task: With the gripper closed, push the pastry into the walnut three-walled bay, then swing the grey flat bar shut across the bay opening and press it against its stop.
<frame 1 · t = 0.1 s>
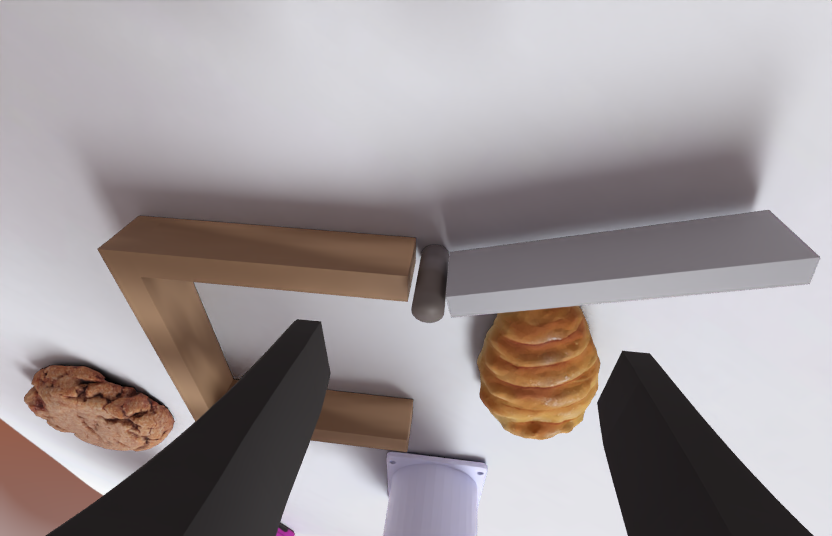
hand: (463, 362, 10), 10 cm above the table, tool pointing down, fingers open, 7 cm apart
bay: (301, 329, 26), on the table
pastry: (530, 347, 25), on the table
grey flat bar: (603, 265, 17), point 2 cm above the table, hinge at 105.0°
cookie: (113, 395, 34), on the table
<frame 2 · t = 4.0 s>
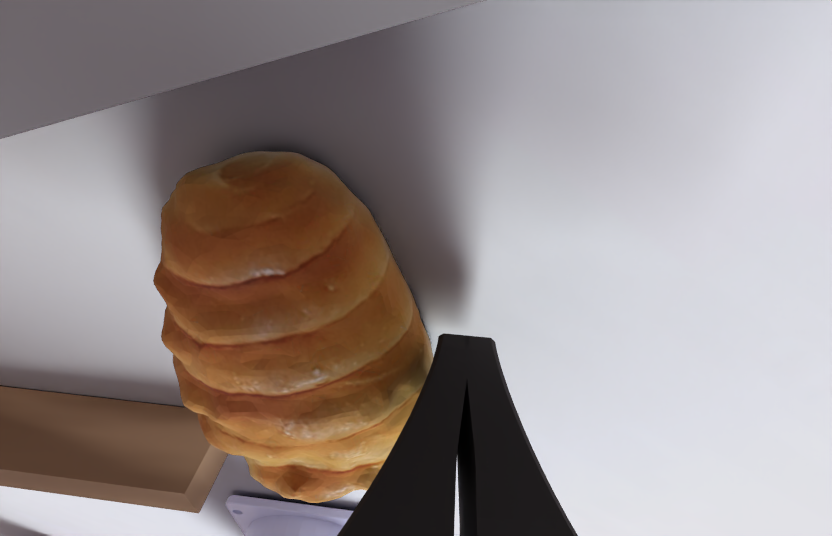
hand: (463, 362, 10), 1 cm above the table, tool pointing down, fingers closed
pastry: (318, 312, 12), on the table, touching gripper
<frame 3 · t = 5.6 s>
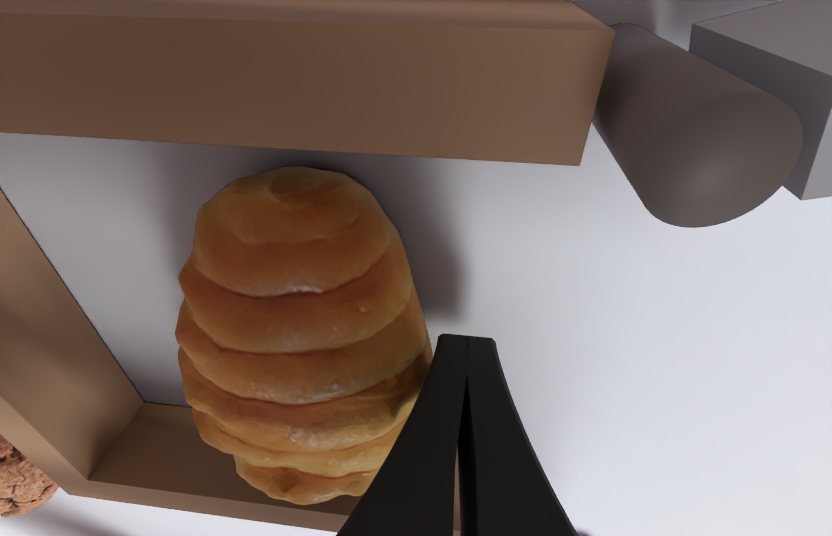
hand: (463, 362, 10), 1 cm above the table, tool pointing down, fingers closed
bay: (256, 303, 12), on the table
pastry: (322, 317, 13), on the table, touching gripper
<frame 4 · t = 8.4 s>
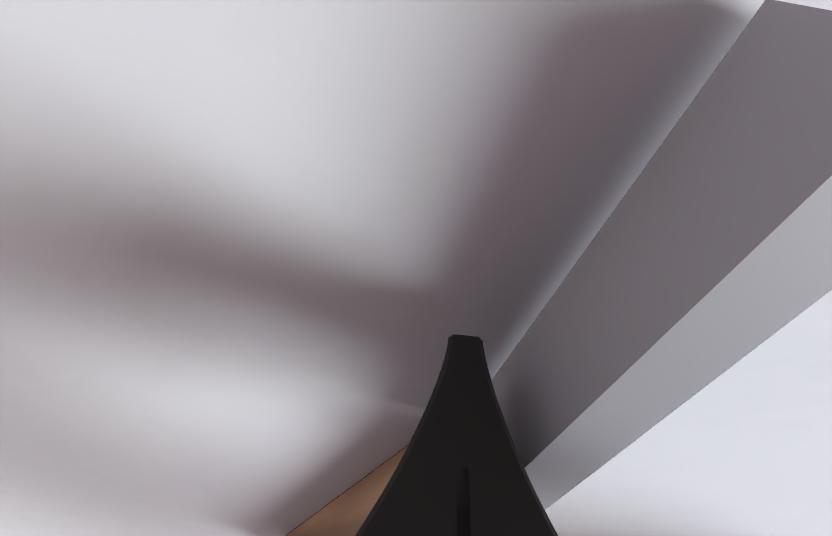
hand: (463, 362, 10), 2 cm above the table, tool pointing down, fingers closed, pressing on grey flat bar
grey flat bar: (580, 367, 9), point 2 cm above the table, hinge at 105.0°, touching gripper
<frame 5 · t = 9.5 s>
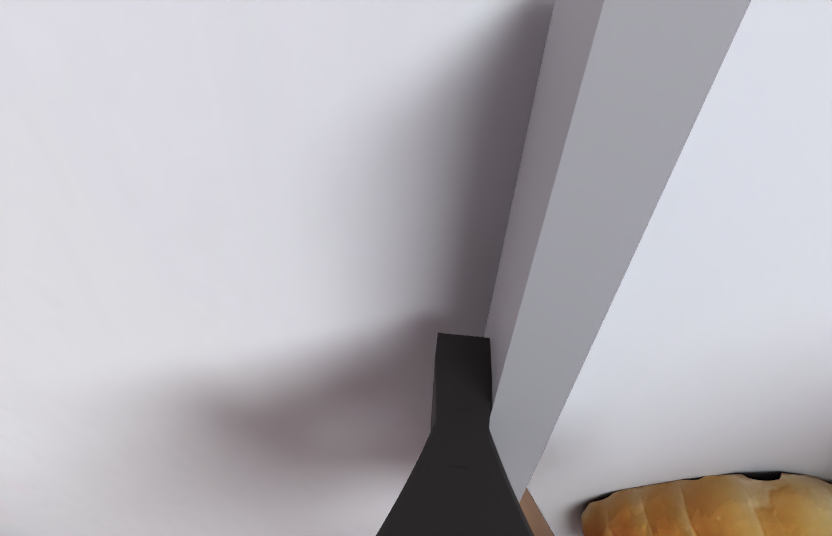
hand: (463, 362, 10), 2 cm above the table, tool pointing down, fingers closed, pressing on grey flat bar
bay: (695, 519, 17), on the table
pastry: (719, 502, 17), on the table
grey flat bar: (522, 340, 9), point 2 cm above the table, hinge at 62.9°, touching gripper
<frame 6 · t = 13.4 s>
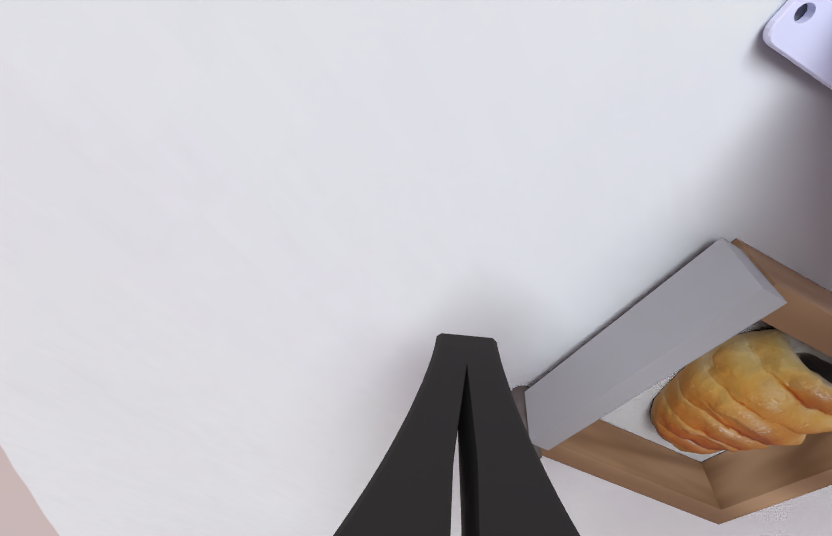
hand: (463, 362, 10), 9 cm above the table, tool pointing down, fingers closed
bay: (710, 386, 23), on the table
pastry: (735, 372, 23), on the table
grey flat bar: (622, 358, 20), point 2 cm above the table, hinge at -1.7°, touching bay
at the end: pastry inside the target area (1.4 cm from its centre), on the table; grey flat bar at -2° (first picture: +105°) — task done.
